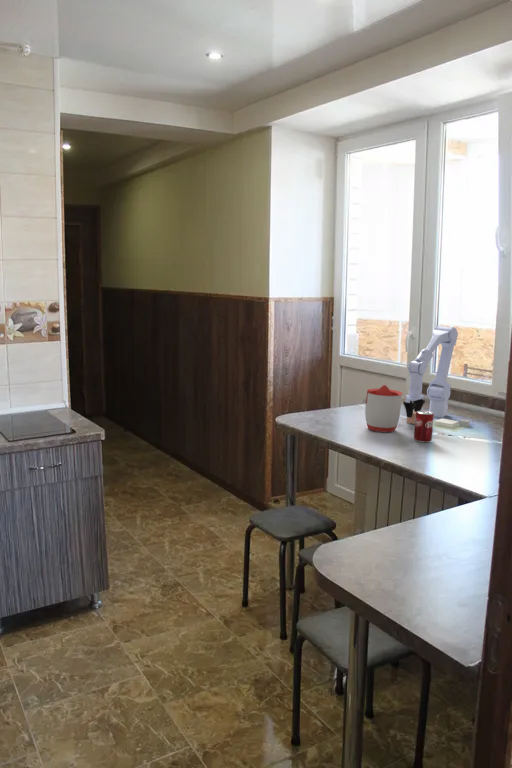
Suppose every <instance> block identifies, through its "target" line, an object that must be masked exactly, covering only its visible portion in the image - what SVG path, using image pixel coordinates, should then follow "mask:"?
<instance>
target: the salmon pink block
mask: <svg viewBox="0 0 512 768" xmlns="http://www.w3.org/2000/svg"><path fill="white" fill-rule="evenodd" d="M415 417H416V412H414V410H413V415H412V418H410V417H407V416H406V424H411V423H412V425H415Z"/></svg>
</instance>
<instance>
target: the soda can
mask: <svg viewBox="0 0 512 768" xmlns="http://www.w3.org/2000/svg"><path fill="white" fill-rule="evenodd" d="M434 418H435V417H434V414H433V413H432V412H429V410H421V411H417V412H416V417H415V424H414V430H413V440H414V441H415V440H416V441H415V442H418V441H419V442H418V443H423V442H428V443H431V442H430V441H432V440H433V439H432V438H433V429H434V427H433V421H435V419H434Z"/></svg>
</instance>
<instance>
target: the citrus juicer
mask: <svg viewBox="0 0 512 768" xmlns="http://www.w3.org/2000/svg"><path fill="white" fill-rule="evenodd" d="M402 396H403V392H402V391H399V390H394V389H390V388H389V387H388V386H387V385H386V384H383V385H382V386H381V387H379V388H370V389H369V388H368V389H367V392H366V396H365V397H363V398H362V399H361V401H360V403H365V406H364V407H365V409H364V411H365V412H364V414H365V415H364V416H365V421H366V422H365V423H366V426H367V429H369V430H370V431H372V430H373V431H372V432H379V433H388V432H390V433H391V432H395V430H396V429H397V426H398V423H399V421H400V417H401V409H402V408H401V407H402Z"/></svg>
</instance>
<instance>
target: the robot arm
mask: <svg viewBox="0 0 512 768" xmlns="http://www.w3.org/2000/svg"><path fill="white" fill-rule="evenodd" d="M458 335H459V332H458V330H457V328H456V327H455V326H453V327H452V326H451V327H450V326H442V325H436V326H435V327H434V328H433V330H432V337H431V339H430V341H429V342H428V345H427V346H426V348H423V349H421V351H420V352H419V353H418V355H417V356H416V358H415V359H414V360H412V361H410V362H409V364H408V366H407V370H408V373H409V374H408V376H409V385H408V394H406V395H405V396H406V398H405V400H404V401H403V406H404V408H405V413H406V418H407V417H410V418H412V415H413V411H414V412H417V411H422V408H423V407H424V404H425V403H426V400H425V399H424V397H425V395H424V394H422V391H423V379H424V375H425V373H426V372H427V369H428V366H429V365H428V364H429V363H430V361H431V359H432V358H433V356H434V354H433V353H434V351H435V350H436V349H437V348H438V347H439V345H441V347H442V348H441V350H440V356H439V360H438V365H437V370H436V374H435V378H434V379H433V380H431V381H430V382H429V385H428V387H427V389H426V394H427V397H428V399H429V409H428V411H429V412H432V413H433V414H434V418H439V419H442V418H445V417H446V416H448V410H449V409H448V407H449V404H448V400H449V398H450V396H451V384H450V383H449V382H448V381H447V380H448V375H449V370H450V365H451V361H452V358H453V352H454V347H455V346H456V344H457V340H458Z"/></svg>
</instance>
